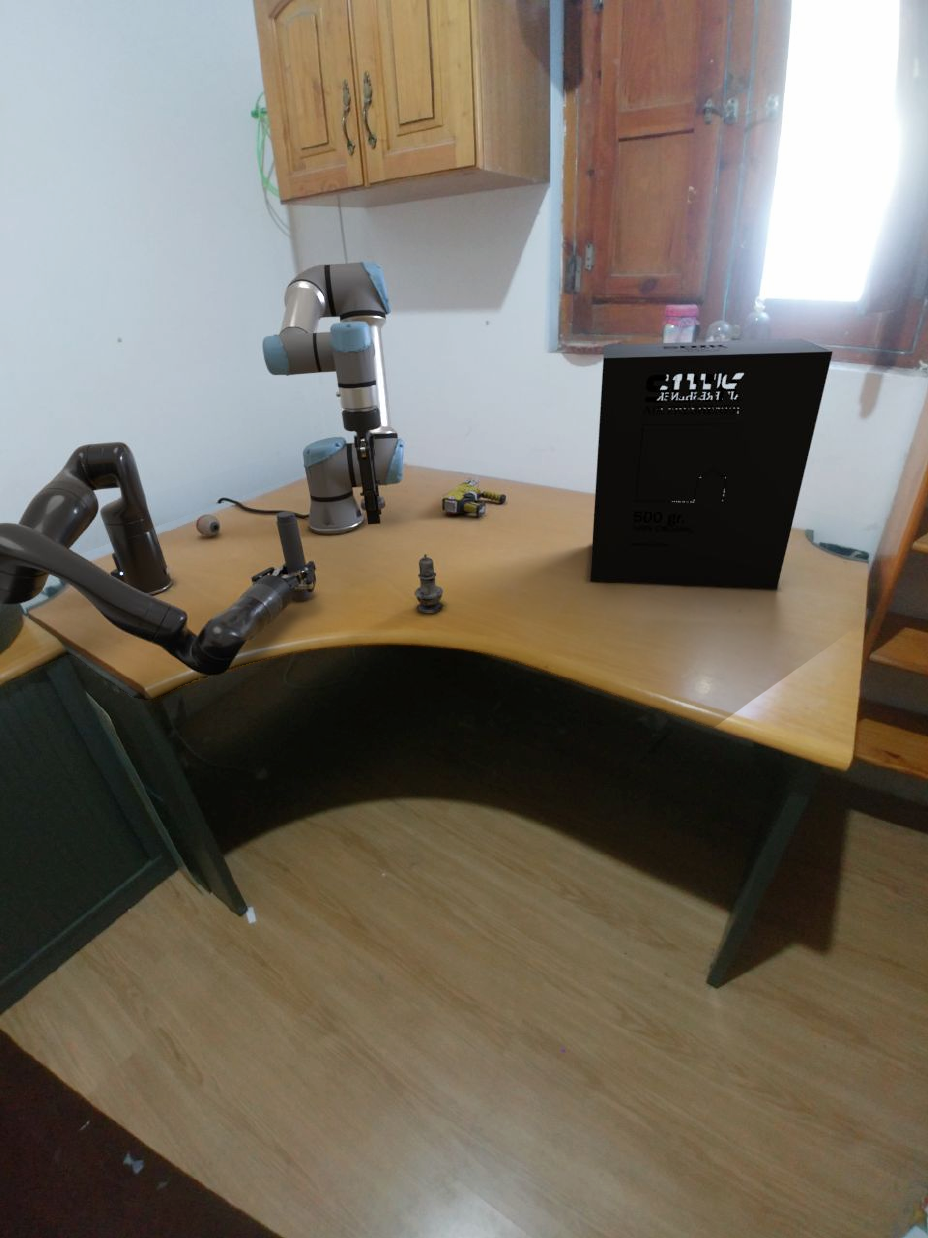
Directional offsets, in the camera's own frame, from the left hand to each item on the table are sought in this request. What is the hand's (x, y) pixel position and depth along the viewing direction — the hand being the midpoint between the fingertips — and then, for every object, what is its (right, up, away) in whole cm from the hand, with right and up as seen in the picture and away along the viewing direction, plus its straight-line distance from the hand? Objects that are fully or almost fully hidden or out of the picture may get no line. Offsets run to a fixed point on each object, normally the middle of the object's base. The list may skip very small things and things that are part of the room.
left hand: (302, 564), depth 131 cm
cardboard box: (+83, 0, +5) cm, 83 cm away
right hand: (+16, +10, 0) cm, 19 cm away
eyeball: (-35, +11, +36) cm, 51 cm away
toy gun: (+40, +22, +47) cm, 65 cm away
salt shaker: (+28, -10, -6) cm, 30 cm away
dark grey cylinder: (0, -7, +1) cm, 7 cm away
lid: (+16, +14, -2) cm, 21 cm away
